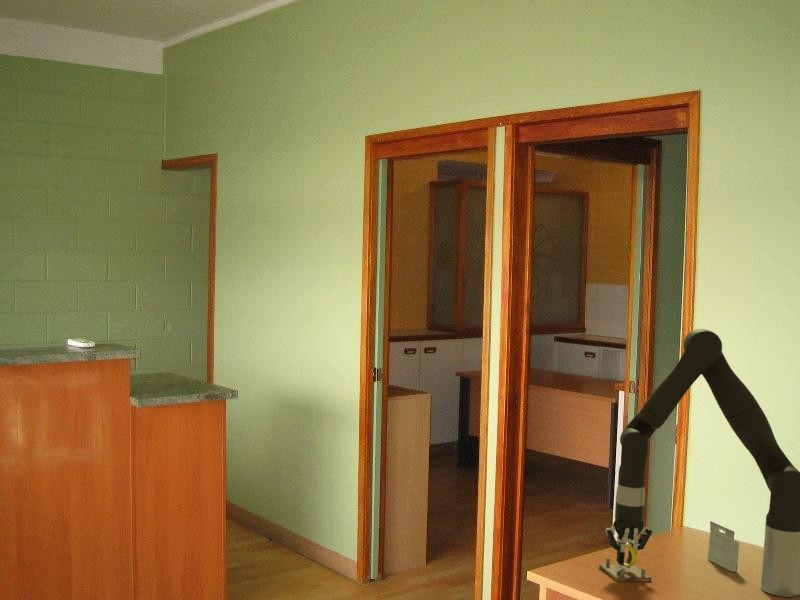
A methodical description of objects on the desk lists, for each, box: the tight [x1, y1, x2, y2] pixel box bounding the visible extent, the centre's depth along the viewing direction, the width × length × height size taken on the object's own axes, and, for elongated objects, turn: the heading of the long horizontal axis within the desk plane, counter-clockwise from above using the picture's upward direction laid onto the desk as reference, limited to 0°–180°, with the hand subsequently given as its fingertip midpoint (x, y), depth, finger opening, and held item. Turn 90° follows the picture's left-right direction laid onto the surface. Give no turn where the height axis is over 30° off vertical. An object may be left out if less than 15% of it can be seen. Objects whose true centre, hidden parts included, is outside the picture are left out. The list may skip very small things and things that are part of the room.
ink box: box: [707, 520, 740, 573], centre depth 266 cm, size 12×2×12 cm, turn 16°
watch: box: [624, 542, 637, 567], centre depth 253 cm, size 6×3×6 cm, turn 31°
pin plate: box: [598, 557, 653, 583], centre depth 253 cm, size 10×11×3 cm
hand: (625, 564), depth 253 cm, fingers closed on watch, 2 cm apart
